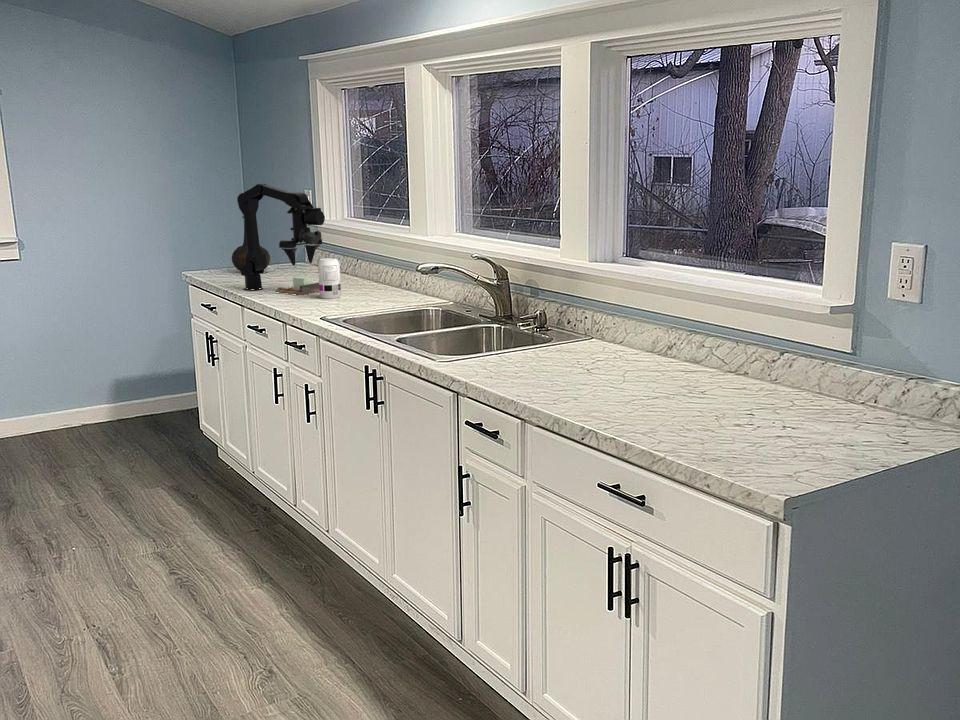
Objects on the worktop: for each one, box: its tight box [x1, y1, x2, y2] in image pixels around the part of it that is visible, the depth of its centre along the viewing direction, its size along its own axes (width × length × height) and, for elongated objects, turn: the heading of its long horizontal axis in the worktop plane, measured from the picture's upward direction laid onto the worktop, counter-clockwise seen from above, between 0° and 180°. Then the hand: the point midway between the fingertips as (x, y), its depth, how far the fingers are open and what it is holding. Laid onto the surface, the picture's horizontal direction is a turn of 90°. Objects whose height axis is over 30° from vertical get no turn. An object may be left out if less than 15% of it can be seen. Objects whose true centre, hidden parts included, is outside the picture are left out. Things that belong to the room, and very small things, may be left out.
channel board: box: [275, 282, 320, 296], centre depth 384 cm, size 14×13×4 cm
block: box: [292, 275, 314, 289], centre depth 383 cm, size 6×5×5 cm
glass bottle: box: [231, 215, 271, 271], centre depth 448 cm, size 18×18×28 cm
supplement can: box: [317, 257, 342, 300], centre depth 368 cm, size 8×8×15 cm
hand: (302, 264), depth 381 cm, fingers open, 9 cm apart
